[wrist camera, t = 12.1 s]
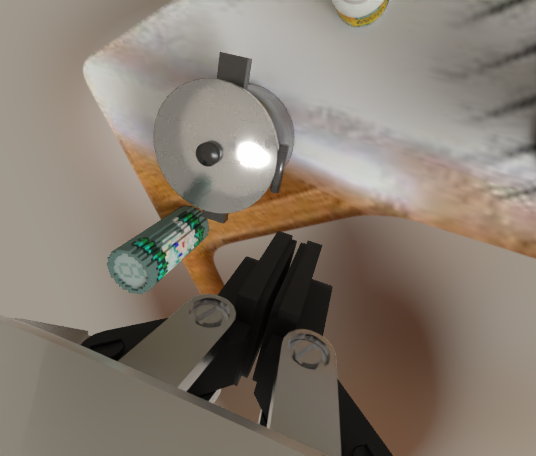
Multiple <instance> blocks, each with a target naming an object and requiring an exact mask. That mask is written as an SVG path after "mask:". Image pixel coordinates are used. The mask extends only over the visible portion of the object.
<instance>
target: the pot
mask: <svg viewBox="0 0 536 456" xmlns="http://www.w3.org/2000/svg"><path fill="white" fill-rule="evenodd" d="M251 62H252V59H249V58H245V57H240V56H236V55H232V54H227V53H222V52H220V56H219V65H218V75H217V79H220V80H225V81H229V82H232V83H234V84H236V85H238V86H240V87H242V88H244V89H245V90H247V91H248V92H250V93H251V94H252V95H253V96H254V97H255V98H256V99H257V100H258V101H259V102H260V103H261V104H262V105H263V107H264V108H265V110H266V111H267V113H268V114H269V116H270V118H271V120H272V122H273V124H274V127H275V130H276V133H277V138H278V143H279V145H280V144H286V145H289V150H288V155H287V159H286V164H287V163H288V161H289V159H290V157H291V154H292V151H293V146H294V129H293V124H292V120H291V117H290V115H289V113H288V111H287V109H286V108H285V106H284V104H283V103H282V102H281V101H280V100H279V98H277V97H276V96H275V95H274V94H273V93H271V92H270V91H268V90H267V89H265V88H263V87H260V86H257V85H252V84H248V82H249V75H250V69H251ZM286 164H285V166H286ZM202 217H205V218H208V219H211V220H214V221H217V222H220V223H223V224H224V223H225V222H226V221H227V220H228V213H213V212H209V211H205V210H203V213H202Z"/></svg>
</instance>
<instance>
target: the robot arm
mask: <svg viewBox="0 0 536 456" xmlns="http://www.w3.org/2000/svg"><path fill="white" fill-rule="evenodd" d="M296 243H297V241H295V240H292V235H289V234H286V233H283V232H280V231H278V232H277V233H276V235H275V237H274V238H273V240H272V241H271V243H270V244H269V246H268V247H267V249H266V251H265V252H264V254H263V255H262V257H261V258H260V260H256V259H253V258H250V257H245V259H244V260H243V261H242V263H241V264H240V265H239V267H238V268H237V270H236V271H235V272H234V274H233V275H232V276H231V278H230V279H229V280H228V282H227V283H226V284H225V286H224V287H223V288H222V290H221V291H220V293H219V294H218V295H212V294H205V295H199V296H196V297H194V298H192V299H191V300H189V301H188V302H187V303H185V304H184V305H183V306H182V307H181V308H180V309H179V310H177V311H176V312H175V313H174V314H173V315H171V317H169V318H165V319H160V320H155V321H151V322H146V323H141V324H136V325H131V326H126V327H121V328H117V329H112V330H107V331H103V332H100V333H97V334H95V335H93V336H89V335H88V331H85V330H80V329H74V328H69V327H64V326H58V325H52V324H47V323H42V322H37V321H31V320H26V319H14V318H9V317H5V316H1V315H0V456H393V455H392V454H391V453H390V451H389V450H388V448H387V447H386V445H385V444H384V443H383V441H382V440H381V439H380V437H379V436H378V434H377V433H376V431H375V430H374V429H373V427H372V426H371V425H370V423H369V422H368V420H367V419H366V418H365V417H364V415H363V414H362V412H361V411H360V409H359V408H358V407H357V405H356V404H355V403H354V401H353V400H352V398H351V397H350V396H349V394H348V393H347V391H346V390H345V389H344V387H343V386H342V384H341V383H340V382H339V380H338V379H337V364H336V355H335V351H334V349H333V347H332V345H331V344H330V343H329V342H328V341H327V339H326V338H324V337H323V332H324V327H325V322H326V317H327V312H328V307H329V302H330V297H331V292H332V286H331V285H328V284H325V283H322V282H319V281H316V280H313V279H312V277H313V273H314V270H315V267H316V263H317V260H318V257H319V254H320V251H321V248H322V245H320V244H317V243H314V242H311V241H308V242H307V244H305V243H301V244H300V246H299V248H298V250H297V253H296V255H295V257H294V259H293V261H292V264H291V260H292V257H293V254H294V250H295V246H296ZM290 264H291V266H290ZM261 345H262V346H261ZM260 348H261V349H260ZM259 350H260V353H259V357H258V361H257V364H256V368H255V372H254V376H253V380H254V381H256V382H257V384H256V387H255V391H254V395H255V397H256V399H257V401H258V403H259V405H260V407H261V412H260V415H259V421H258V423H255V422H253V421H251V420H249V419H246V418H244V417H242V416H240V415H238V414H235V413H233V412H231V411H228V410H226V409H224V408H222V407H220V406H217V405H215V404H214V402H215V401H216V399H217V398H218V396H219V394H220V391H221V389H222V388H224V387H227V386H230V385H233V384H234V385H236V386H237V385H238V382H239V380H240V378H241V376H244V377H246V378H247V377H248V375H249V373H250V371H251V369H252V366H253V364H254V362H255V359H256V357H257V354H258V352H259Z"/></svg>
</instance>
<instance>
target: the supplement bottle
mask: <svg viewBox="0 0 536 456" xmlns="http://www.w3.org/2000/svg"><path fill="white" fill-rule="evenodd" d="M331 1H332V3H333V5H334V7H335V8H336V10H337V12H338V14H339V16H340V17H341V19H342V20H343V21H344V22H345V23H346V24H348V25H350V26H353V27H365V26H368V25H370V24H372V23H373V22H375V21H376V20H377V19H378V18H379V17H380V16H381V15H382V13H383V12H384V10H385V8H386V6H387V4H388V1H389V0H331Z"/></svg>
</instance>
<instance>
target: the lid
mask: <svg viewBox="0 0 536 456" xmlns="http://www.w3.org/2000/svg"><path fill="white" fill-rule="evenodd" d="M154 148H155V154H156V158H157V161H158V164H159V166H160V169H161V171H162V173H163V175H164V177H165V178H166V180H167V181H168V183H169V184H170V185H171V187H172V188H173V189H174V190H175V191H176V192H177V193H178V194H179V195H180V196H181V197H182V198H183V199H185V200H186V201H187V202H189V203H190V204H192V205H194V206H196V207H198V208H200V209H203V210H205V211H209V212H213V213H233V212H237V211H241V210H243V209H245V208H248V207H249V206H251V205H253V204H254V203H255V202H257V201H258V200H259V199H260V198H261V197H262V196H263V194H264V193H265V192H266V191H267V190H268V188H269V187H270V185H271V187H270V191H271V192H273V193H279V190H280V185H281V181H282V177H283V172H284V168H285V164H286V159H287V155H288V150H289V145H286V144H280V145H279V143H278V138H277V133H276V130H275V127H274V124H273V122H272V120H271V118H270V116H269V114H268V113H267V111H266V110H265V108H264V107H263V105H262V104H261V103H260V102H259V101H258V100H257V99H256V98H255V97H254V96H253V95H252V94H251V93H250V92H248V91H247V90H245V89H244V88H242V87H240V86H238V85H236V84H234V83H232V82H229V81H225V80H220V79H199V80H194V81H190V82H187V83H185V84H183V85H181V86H179V87H178V88H177V89H175V90H174V91H173V92H172V93H171V94H170V95H169V96H168V97H167V98H166V100H165V101H164V103H163V104H162V106H161V108H160V110H159V112H158V115H157V118H156V121H155V126H154Z"/></svg>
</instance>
